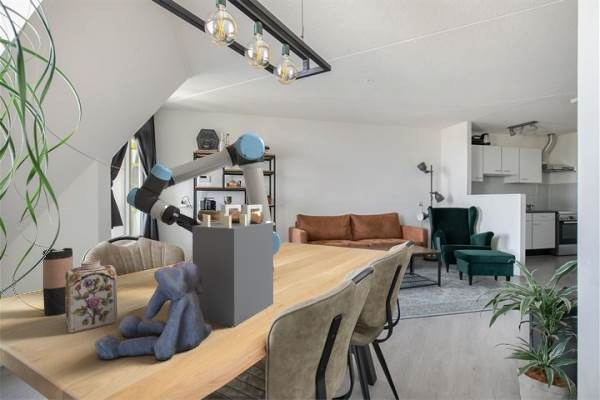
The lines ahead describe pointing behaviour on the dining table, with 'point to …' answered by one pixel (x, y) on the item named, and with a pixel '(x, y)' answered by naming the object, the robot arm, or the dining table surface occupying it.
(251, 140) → the robot arm
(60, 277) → the travel mug
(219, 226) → the grey pedestal with pegs
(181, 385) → the dining table surface
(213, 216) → the copper tube
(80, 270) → the decorative jar
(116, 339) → the elephant
